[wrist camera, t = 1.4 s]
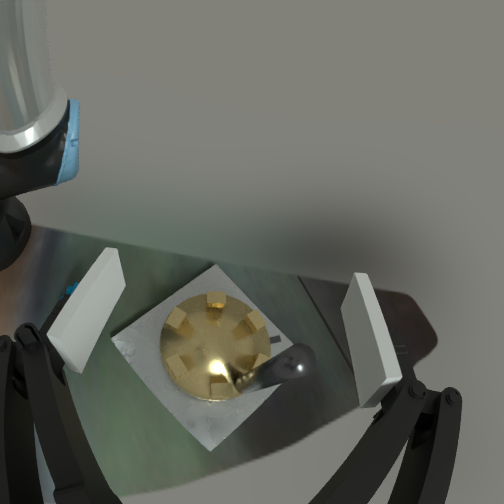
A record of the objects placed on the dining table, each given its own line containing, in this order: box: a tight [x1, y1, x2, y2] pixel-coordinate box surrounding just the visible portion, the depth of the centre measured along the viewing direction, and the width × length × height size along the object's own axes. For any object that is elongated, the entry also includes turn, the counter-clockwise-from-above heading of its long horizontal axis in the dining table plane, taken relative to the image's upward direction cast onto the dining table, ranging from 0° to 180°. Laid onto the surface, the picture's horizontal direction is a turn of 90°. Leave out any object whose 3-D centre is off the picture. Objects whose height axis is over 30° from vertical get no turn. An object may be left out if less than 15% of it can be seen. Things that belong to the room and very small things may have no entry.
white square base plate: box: [111, 264, 294, 451], centre depth 37 cm, size 20×20×3 cm
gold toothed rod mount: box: [160, 291, 316, 401], centre depth 28 cm, size 14×14×18 cm
